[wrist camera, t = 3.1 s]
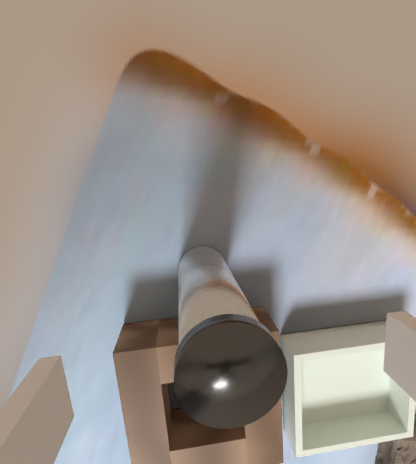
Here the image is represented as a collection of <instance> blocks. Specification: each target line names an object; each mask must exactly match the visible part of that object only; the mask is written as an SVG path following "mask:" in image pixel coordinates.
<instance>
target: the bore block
mask: <svg viewBox="0 0 416 464" xmlns="http://www.w3.org/2000/svg"><path fill="white" fill-rule="evenodd" d="M252 310H253V311H254V313H255V315H256V317H257V318H258V320H259V322H260V323H262V324H263V325H264V326H265V327H266V328H267V329H268V330H269V331H270V332H271V334H272V335H273V337H274V339H275V340H276V342H277V344H278V345H279V330H278V329H277V327H276V326H275V324H274V323H273V321H272V320H271V318H270V317H269V315H268V314H267V312H266V311H265V309H264V308H263V306H262V307H254V308H252ZM178 346H179V317H176V318H168V319H160V320H153V321H145V322H137V323H129V324H123V327H122V330H121V332H120V335H119V338H118V341H117V343H116V346H115V349H114V352H113V358H114V364H115V369H116V375H117V381H118V387H119V393H120V399H121V405H122V411H123V417H124V423H125V429H126V435H127V441H128V447H129V453H130V459H131V464H279V463H283V438H282V408H281V398H280V399H279V401H278V402H277V404H276V405H275V406H274V407H273V408H272V409H271V410H270V411H269V412H268V413H267V414H266V415H264V416H263V417H262V418H260V419H258V420H257V421H255V422H253V423H250V424H248V425H245V426H242V427H237V428H230V429H220V428H213V427H209V426H206V425H203V424H200V423H199V422H197V421H195V420H194V419H192V418H191V417H189V416H188V415H187V414H186V413H185V412H184V410H183V409H182V408H178V409H172V410H171V406H170V398H169V391H168V383H173V382H174V359H175V354H176V351H177V348H178Z"/></svg>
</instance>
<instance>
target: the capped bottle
mask: <svg viewBox="0 0 416 464" xmlns="http://www.w3.org/2000/svg"><path fill="white" fill-rule="evenodd" d="M178 313H179V346H178V348H177V351H176V354H175V359H174V391H175V395H176V398H177V401H178V403H179V404H180V406H181V408H182V409H183V410H184V412H185V413H186V414H187V415H188V416H189V417H191V418H192V419H194V420H195V421H197V422H199V423H200V424H203V425H206V426H209V427H213V428H220V429H230V428H237V427H242V426H245V425H248V424H250V423H253V422H255V421H257V420H258V419H260V418H262V417H263V416H264V415H266V414H267V413H268V412H269V411H270V410H271V409H272V408H273V407H274V406H275V405H276V404H277V402H278V401H279V399H280V398H281V396H282V394H283V392H284V389H285V386H286V382H287V374H288V370H287V363H286V359H285V357H284V354H283V352H282V350H281V349H280V347H279V345H278V344H277V342H276V340H275V339H274V337H273V335H272V334H271V332H270V331H269V330H268V329H267V328H266V327H265V326H264V325H263V324H262V323H260V322H259V320H258V318H257V317H256V315H255V313H254V311H253V310H252V308H251V306H250V304H249V303H248V301H247V299H246V297H245V295H244V294H243V292H242V290H241V288H240V287H239V285H238V283H237V281H236V280H235V278H234V276H233V274H232V272H231V271H230V269H229V267H228V265H227V264H226V262H225V260H224V258H223V257H222V255H221V254H220V253H219V252H218V251H217V250H215V249H213V248H211V247H207V246H199V247H195V248H192V249H190V250H189V251H187V252H186V253H185V254H184V255H183V257H182V258H181V260H180V262H179V266H178Z"/></svg>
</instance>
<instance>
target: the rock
mask: <svg viewBox="0 0 416 464" xmlns="http://www.w3.org/2000/svg"><path fill="white" fill-rule="evenodd" d="M376 464H416V426H415V425H414V431H413V437H408V438H403V439H397V440H391V441H386V442H380V443H379V445H378V451H377V457H376Z"/></svg>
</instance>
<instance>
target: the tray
mask: <svg viewBox="0 0 416 464" xmlns="http://www.w3.org/2000/svg"><path fill="white" fill-rule="evenodd" d="M385 335H386V320H385V321H378V322H371V323H364V324H356V325H349V326H342V327H335V328H327V329H320V330H313V331H306V332H298V333H291V334H284V335H280V340H281V350H282V352H283V354H284V357H285V359H286V363H287V370H288V374H287V382H286V386H285V389H284V392H283V394H282V401H283V428H284V430H285V433H286V435H287V437H288V440H289V442H290V444H291V447H292V449H293V452H294V454H295V456H296V457H302V456H308V455H313V454H319V453H324V452H330V451H336V450H341V449H347V448H352V447H358V446H363V445H369V444H375V443H380V442H386V441H391V440H397V439H403V438H408V437H413V431H414V418H415V406H416V402H415V401H414V400H413V399H412V398H411V397H410V396H409V395H408V394H407V393H406V392H405V391H404V390H403V389H402V388H401V387H400V386H399V385H398V384H397V383H396V382H395V381H394V380H393V379H392V378H390V377H389V376H388V375H387V374H386V373H385V372H384V371H383V369H384V352H385Z"/></svg>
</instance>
